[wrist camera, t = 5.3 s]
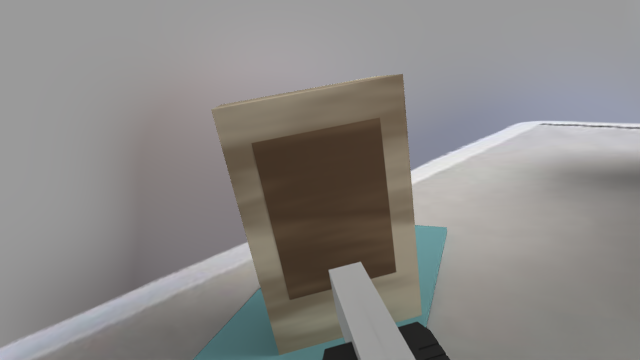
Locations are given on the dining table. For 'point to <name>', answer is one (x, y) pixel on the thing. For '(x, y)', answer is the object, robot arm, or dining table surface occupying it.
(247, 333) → the mat
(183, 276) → the dining table surface
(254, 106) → the light brown rectangular block
